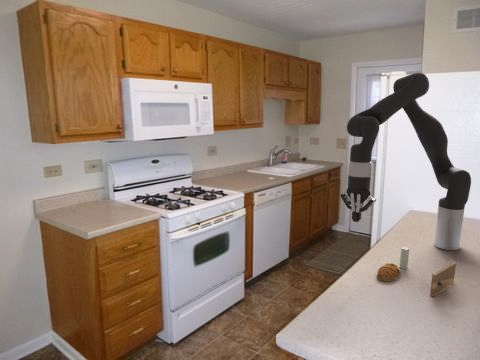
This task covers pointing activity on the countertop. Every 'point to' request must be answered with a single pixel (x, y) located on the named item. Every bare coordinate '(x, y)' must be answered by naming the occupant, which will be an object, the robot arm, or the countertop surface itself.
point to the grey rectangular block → (405, 258)
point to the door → (442, 279)
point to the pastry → (388, 272)
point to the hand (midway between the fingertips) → (356, 221)
